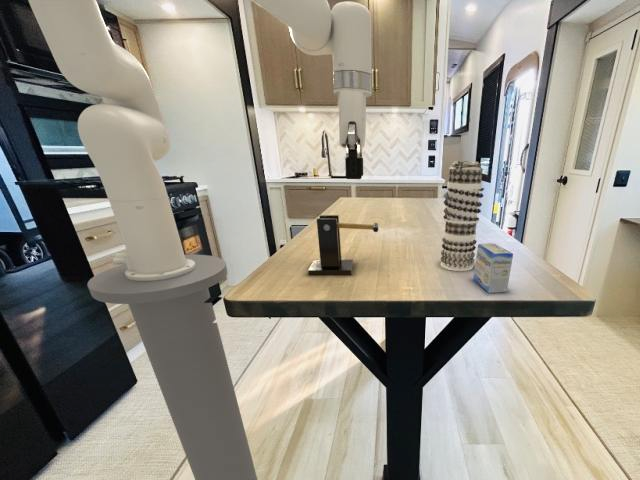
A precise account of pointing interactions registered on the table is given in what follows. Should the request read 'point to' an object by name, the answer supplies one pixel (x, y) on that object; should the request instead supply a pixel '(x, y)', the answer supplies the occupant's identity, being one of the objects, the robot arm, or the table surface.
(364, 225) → the flush lever
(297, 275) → the table surface
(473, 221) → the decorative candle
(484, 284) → the medicine box
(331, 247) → the lever bracket
